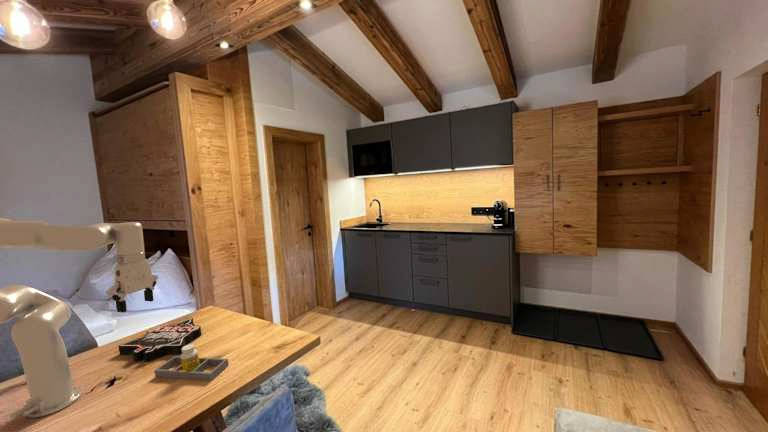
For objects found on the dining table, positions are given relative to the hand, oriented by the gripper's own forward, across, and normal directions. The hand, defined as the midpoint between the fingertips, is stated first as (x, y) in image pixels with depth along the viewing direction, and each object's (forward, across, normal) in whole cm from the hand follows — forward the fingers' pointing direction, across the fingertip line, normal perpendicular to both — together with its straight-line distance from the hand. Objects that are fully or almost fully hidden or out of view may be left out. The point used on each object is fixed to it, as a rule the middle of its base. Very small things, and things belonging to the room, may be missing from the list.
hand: (136, 306), depth 108 cm
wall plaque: (+27, +24, +14) cm, 39 cm away
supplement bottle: (+26, +6, -15) cm, 31 cm away
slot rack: (+26, +6, -15) cm, 31 cm away
